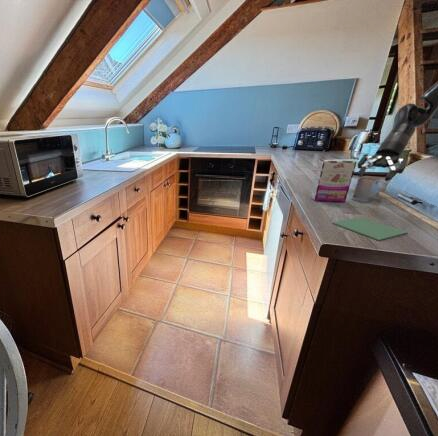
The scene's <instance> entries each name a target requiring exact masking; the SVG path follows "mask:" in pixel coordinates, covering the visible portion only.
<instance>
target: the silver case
mask: <svg viewBox="0 0 438 436" xmlns="http://www.w3.org/2000/svg"><path fill="white" fill-rule="evenodd" d="M381 181H382V177H380V176H379V177H378V176H371V175H364V176H362V177H358V179H357V183H356V186H355V188H354V192H353V195H352V198H351V200H352V201H356V202H360V203H368V202H371V201H373V200H374V199H375V197H376V195H377V192H378V189H379V186H380V183H381Z"/></svg>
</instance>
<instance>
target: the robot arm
mask: <svg viewBox="0 0 438 436" xmlns="http://www.w3.org/2000/svg"><path fill="white" fill-rule="evenodd" d="M421 99H422V100H423V101H424V102H425V103H427V105H428V106H427V107H426V108H424V107H422V106H420V105H418V104H415V103H412V102H411V103H410V102H409V103H407V104H404V105H402V106H401V107H400V108H399V109H398V110H397V111H396V113H395V115H394V118H393V124H392V129H391V130H390V132H389V133H388V135H386V137H385V138H384V139H383V141H382V142H381V143H380V145H379V147H378V148H377V150H376V151H375V153H374V154H373V155H368V153H365V154H363V156H362V157H361V158H360V159H359V161H357V163H356V166H357V169H359V170H358V171H357V176H358V178H362V177H363V175H364V174H365V172H366V170H368V169H372V168H374V167H375V168H383V169H386V168H387V170H388V172H387V174H386V175H385V178H384V181H386V182H388V181H391V180H392V178H393V177H394V176H395V174H399V175H400V174H401V175H402V174H403V173H404V170H405V169H406V167H407V165H408V163H409V157H404V158H400V157H401V155H402V154H403V152H404V151H405V150H406V148H407V146H408V144H409V142H410V140H411V139H412V137H413V135H414V134H415V132H416V128H419V127H422V126H424V125H425V124H427V123H428V121H429V120H430V119H431V118H432V116H433V115H434V113H435V112H436V111H437V110H438V81H436V82H435V83H434V84H433V85H431V87H429V89H428V90H426V91H425V92H424V93H423V94H422V96H421ZM397 163H399V167H398V168H397V167H396V166H395V165H396V164H397Z"/></svg>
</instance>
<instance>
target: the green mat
mask: <svg viewBox="0 0 438 436" xmlns="http://www.w3.org/2000/svg"><path fill="white" fill-rule="evenodd" d="M332 225H335V226H338V227H340V228H343V229H346V230H348V231H351V232H354V233H356V234H359V235H361V236H364V237H367V238H369V239H372V240H375V241H378V242H381V241H384V240H388V239H391V238H395V237H398V236H399V237H400V236H403V235H407V234H408V231H406V230H402V229H400V228H396V227H393V226H389V225H387V224H383V223H380V222H377V221H375V220H370V219H367V218H364V217H362V216H356V217H352V218H348V219H342V220H339V221H334V222H332Z"/></svg>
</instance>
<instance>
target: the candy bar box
mask: <svg viewBox="0 0 438 436" xmlns="http://www.w3.org/2000/svg"><path fill="white" fill-rule="evenodd" d="M357 164H358V161H356V160H354V159H324V158H323V159H319V160H318V165H317V168H316V173H315V178H314V180H313V187H312V190H311V195H310V199H311V200H313V201H315V202H327V203H328V202H329V203H346V200H347V197H348V193H349V190H350V186H351V183H352V180H353V175H354V174H355V173H354V172H355V169H356V166H357Z"/></svg>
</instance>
